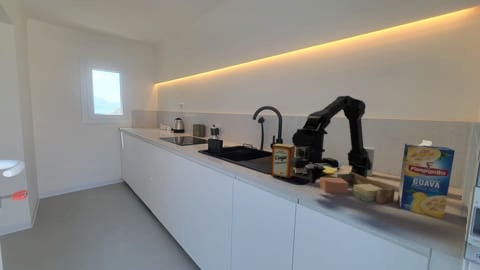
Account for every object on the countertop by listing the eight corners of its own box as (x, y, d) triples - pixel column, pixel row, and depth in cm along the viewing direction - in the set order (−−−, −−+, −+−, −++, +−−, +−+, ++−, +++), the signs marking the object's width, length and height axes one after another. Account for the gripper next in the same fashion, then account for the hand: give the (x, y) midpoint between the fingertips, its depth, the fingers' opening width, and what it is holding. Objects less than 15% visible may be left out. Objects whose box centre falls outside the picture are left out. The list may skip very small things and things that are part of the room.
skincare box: (371, 174, 107) (374, 147, 105) (372, 176, 102) (375, 149, 100) (354, 171, 112) (357, 145, 110) (353, 173, 106) (356, 147, 105)
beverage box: (397, 201, 73) (404, 143, 71) (437, 210, 67) (447, 147, 65) (399, 208, 67) (408, 146, 65) (444, 218, 61) (455, 150, 59)
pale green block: (369, 192, 80) (370, 183, 80) (384, 200, 74) (385, 190, 73) (351, 193, 78) (352, 184, 78) (364, 201, 72) (365, 191, 71)
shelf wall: (351, 182, 92) (352, 172, 92) (393, 202, 72) (394, 189, 71) (339, 182, 91) (339, 172, 90) (378, 203, 71) (379, 190, 70)
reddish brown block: (340, 188, 85) (341, 178, 85) (347, 193, 79) (348, 183, 79) (319, 187, 85) (320, 177, 85) (324, 192, 79) (325, 182, 79)
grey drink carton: (307, 175, 101) (310, 144, 99) (295, 173, 102) (297, 143, 101) (305, 170, 110) (307, 142, 108) (294, 169, 111) (295, 141, 109)
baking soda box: (270, 175, 99) (272, 144, 97) (275, 172, 104) (277, 142, 102) (289, 179, 94) (291, 146, 92) (293, 175, 99) (295, 144, 97)
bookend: (345, 181, 94) (346, 171, 93) (352, 184, 89) (354, 174, 89) (330, 181, 92) (331, 171, 92) (337, 185, 88) (338, 174, 87)
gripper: (324, 142, 87) (321, 176, 88) (285, 142, 83) (282, 177, 85) (341, 147, 76) (337, 185, 78) (297, 147, 72) (294, 187, 74)
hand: (312, 183), depth 79 cm, fingers closed
